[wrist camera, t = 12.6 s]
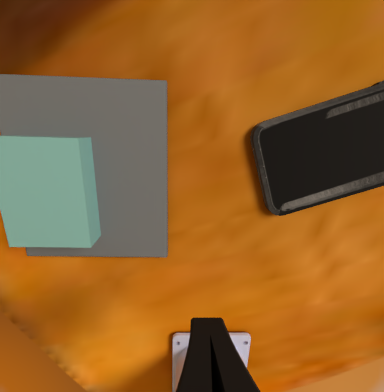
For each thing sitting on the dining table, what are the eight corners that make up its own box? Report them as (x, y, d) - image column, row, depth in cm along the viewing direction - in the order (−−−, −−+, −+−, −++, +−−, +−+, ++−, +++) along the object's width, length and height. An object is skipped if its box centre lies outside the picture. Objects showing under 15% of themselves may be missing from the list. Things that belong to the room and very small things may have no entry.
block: (91, 247, 16) (9, 246, 16) (100, 235, 18) (28, 234, 18) (78, 138, 14) (-18, 135, 14) (90, 137, 16) (7, 135, 16)
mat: (167, 253, 20) (167, 257, 19) (32, 252, 19) (27, 255, 19) (167, 82, 16) (166, 80, 15) (-5, 75, 15) (-12, 73, 15)
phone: (453, 164, 17) (271, 219, 18) (438, 162, 18) (266, 214, 19) (458, 56, 15) (249, 124, 16) (440, 61, 16) (245, 125, 17)
